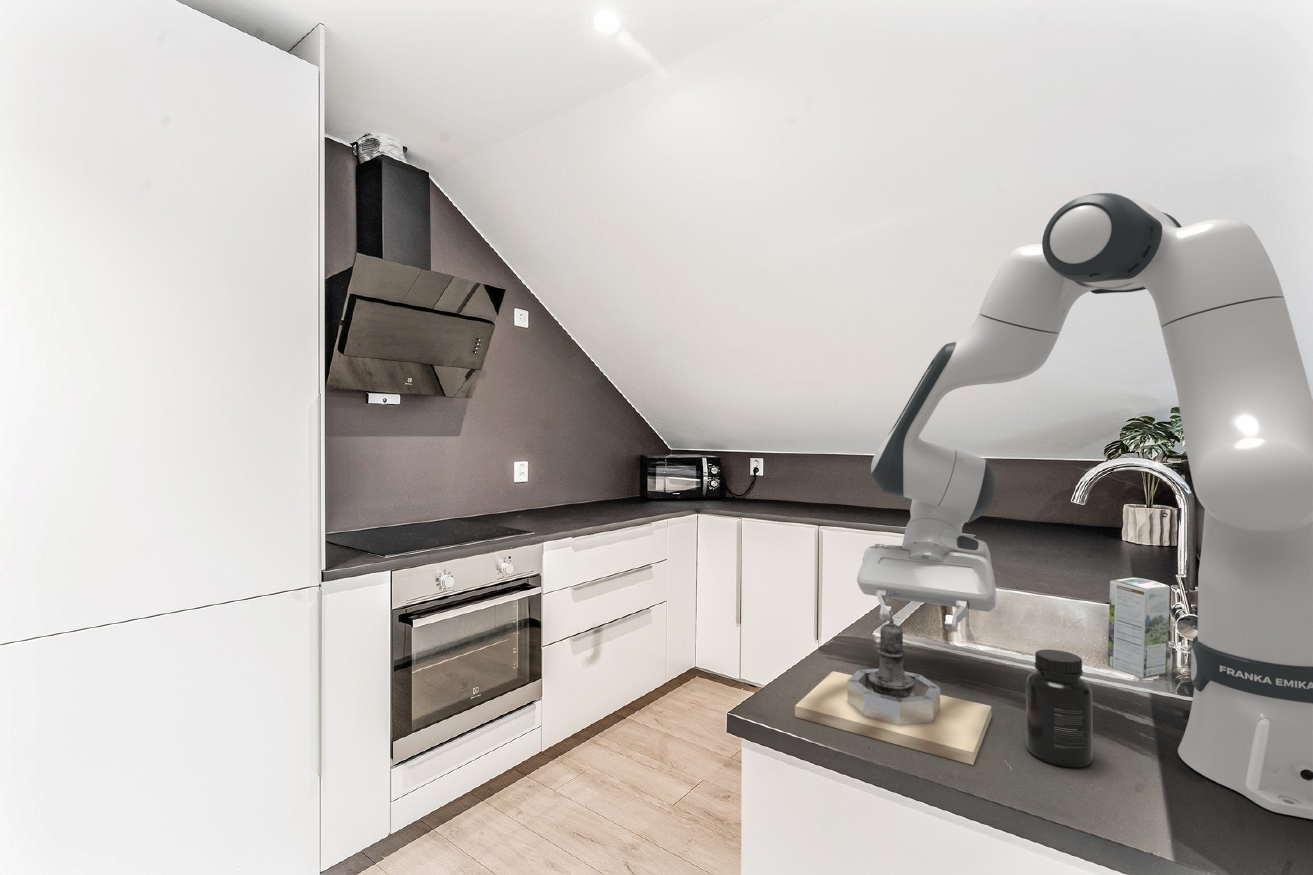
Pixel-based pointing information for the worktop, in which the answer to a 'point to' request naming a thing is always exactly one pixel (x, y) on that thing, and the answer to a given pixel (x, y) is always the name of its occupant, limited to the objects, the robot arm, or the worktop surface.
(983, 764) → the worktop surface
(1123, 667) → the syrup box
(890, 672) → the dark grey turned piece
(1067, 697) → the supplement bottle
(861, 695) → the metal collar
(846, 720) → the carrier plate
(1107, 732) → the worktop surface
